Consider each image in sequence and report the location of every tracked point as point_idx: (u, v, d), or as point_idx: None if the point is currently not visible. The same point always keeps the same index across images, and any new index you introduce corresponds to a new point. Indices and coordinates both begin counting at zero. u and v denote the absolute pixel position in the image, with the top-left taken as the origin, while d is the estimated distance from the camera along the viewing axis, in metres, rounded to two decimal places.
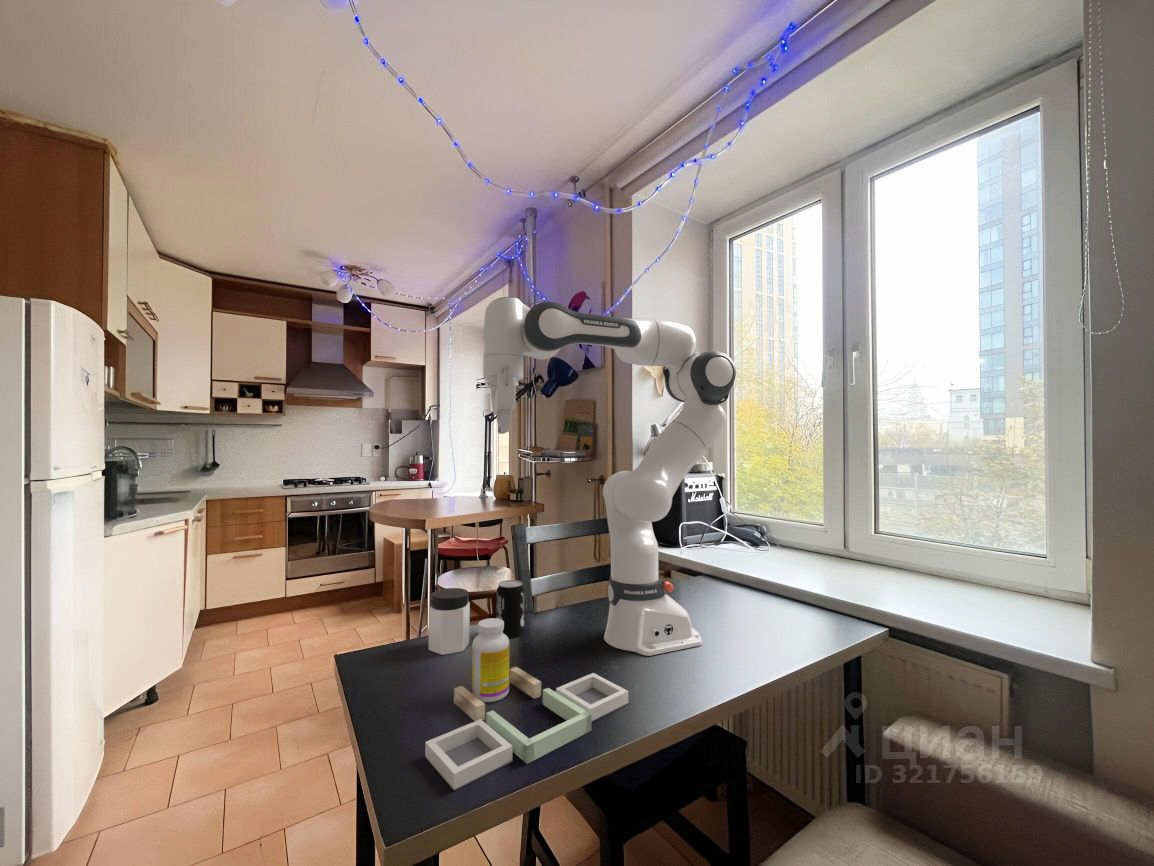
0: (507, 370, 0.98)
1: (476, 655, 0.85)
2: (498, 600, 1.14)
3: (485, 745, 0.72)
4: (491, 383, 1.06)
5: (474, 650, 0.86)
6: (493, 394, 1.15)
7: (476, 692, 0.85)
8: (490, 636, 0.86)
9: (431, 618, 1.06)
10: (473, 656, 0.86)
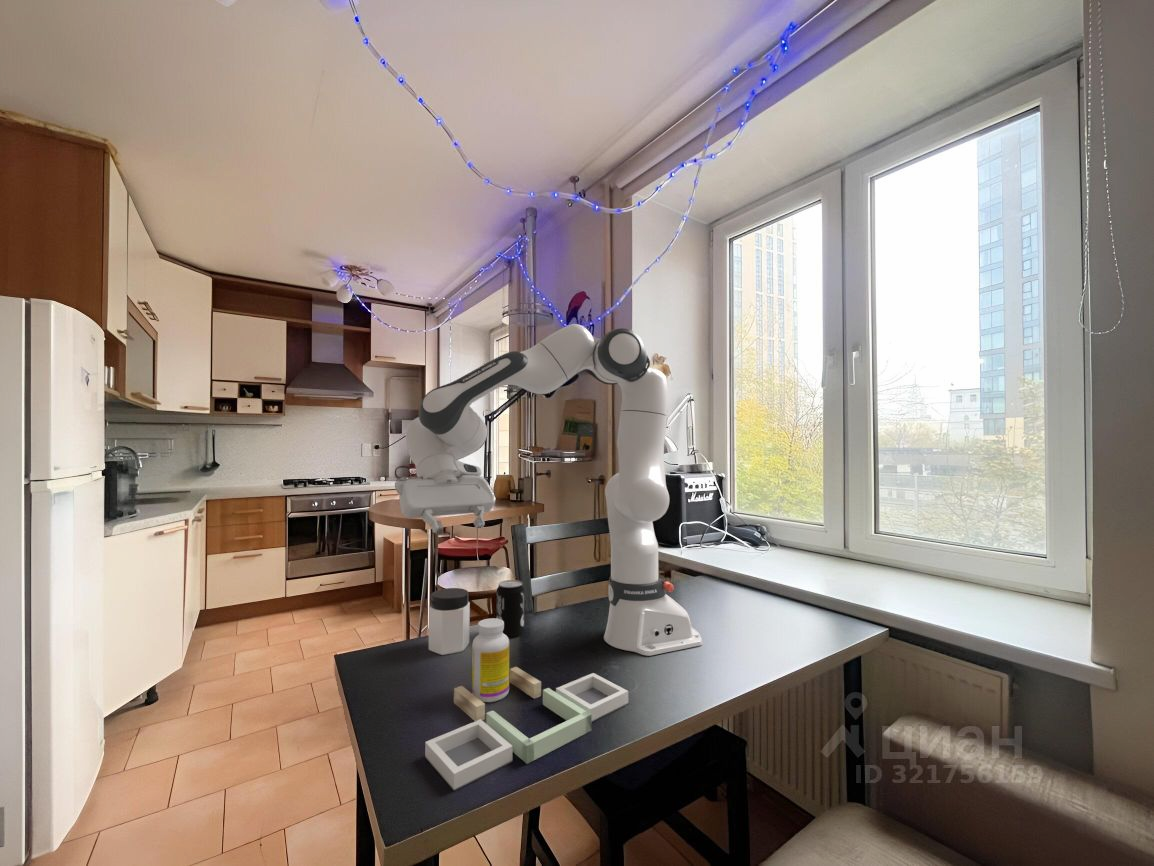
0: (395, 483, 0.98)
1: (476, 655, 0.85)
2: (498, 600, 1.14)
3: (485, 745, 0.72)
4: None
5: (474, 650, 0.86)
6: None
7: (476, 692, 0.85)
8: (490, 636, 0.86)
9: (431, 618, 1.06)
10: (473, 656, 0.86)
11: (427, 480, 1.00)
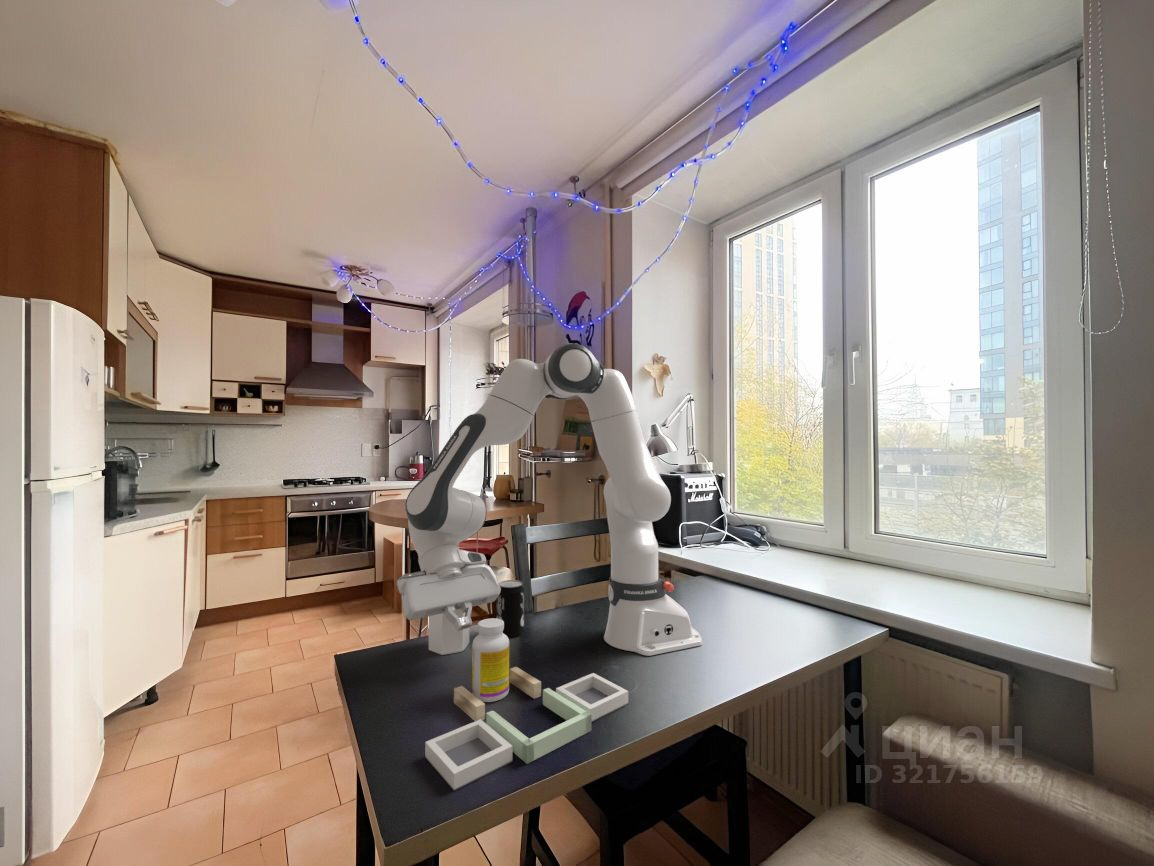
0: (397, 582, 0.95)
1: (476, 655, 0.85)
2: (498, 600, 1.14)
3: (485, 745, 0.72)
4: None
5: (474, 650, 0.86)
6: None
7: (476, 692, 0.85)
8: (490, 636, 0.86)
9: (431, 618, 1.06)
10: (473, 656, 0.86)
11: (430, 576, 0.98)
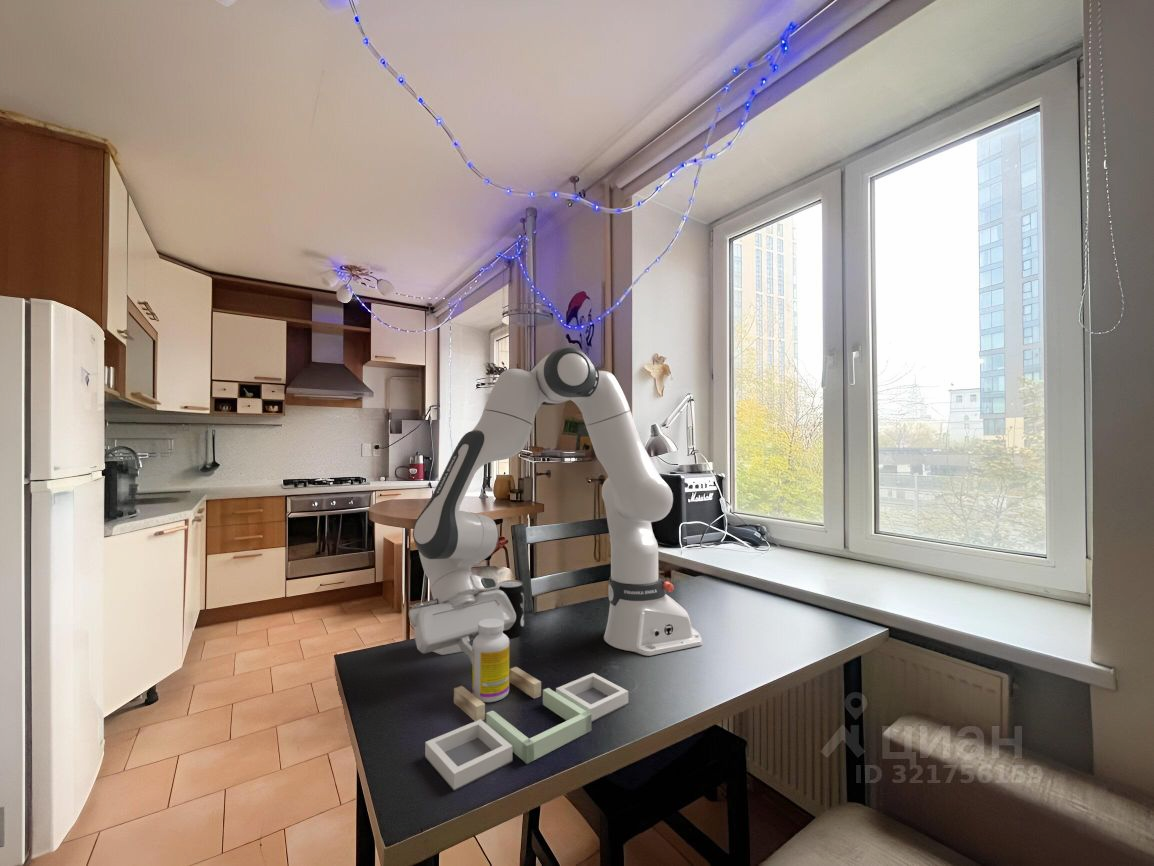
0: (409, 612, 0.91)
1: (476, 655, 0.85)
2: None
3: (485, 745, 0.72)
4: None
5: (474, 650, 0.86)
6: None
7: (476, 692, 0.85)
8: (490, 636, 0.86)
9: None
10: (473, 656, 0.86)
11: (443, 605, 0.93)
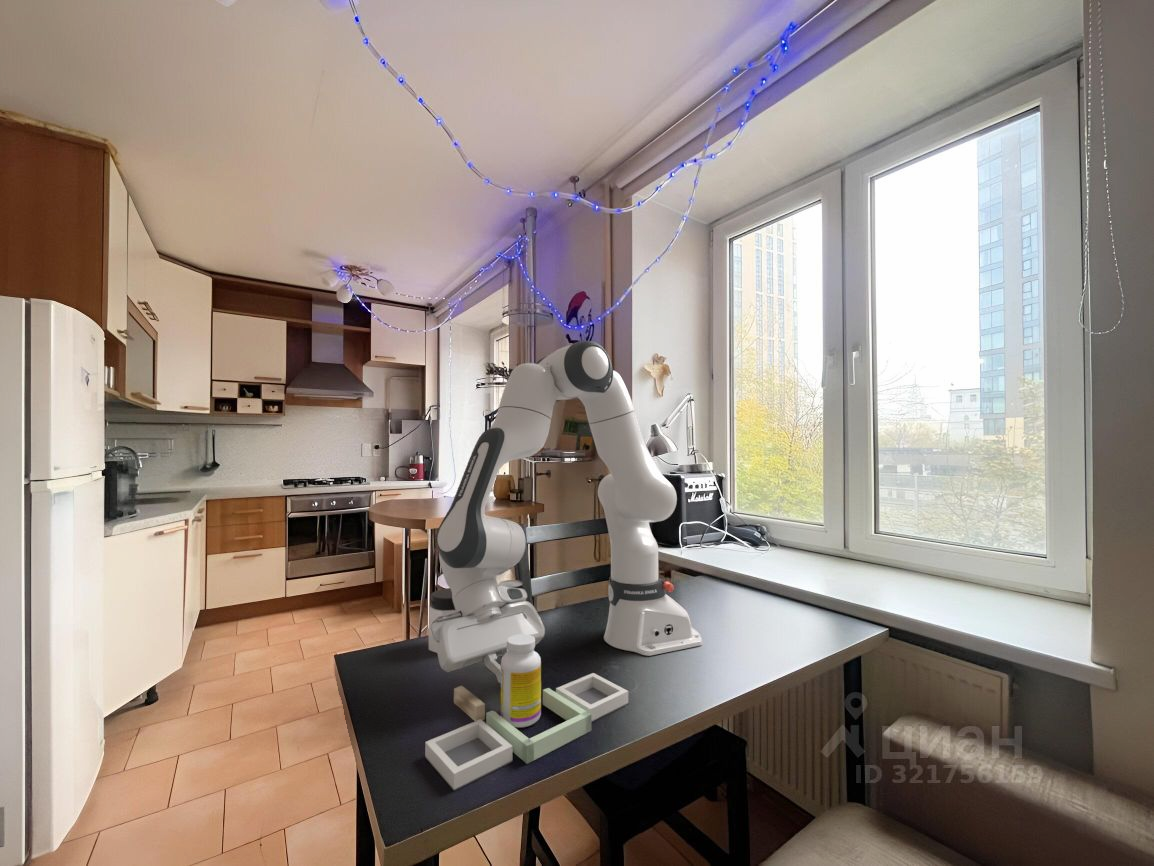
0: (431, 626, 0.83)
1: (506, 676, 0.78)
2: None
3: (485, 745, 0.72)
4: None
5: (503, 670, 0.78)
6: None
7: (506, 716, 0.77)
8: (521, 655, 0.78)
9: (431, 618, 1.06)
10: (502, 676, 0.78)
11: (467, 618, 0.86)
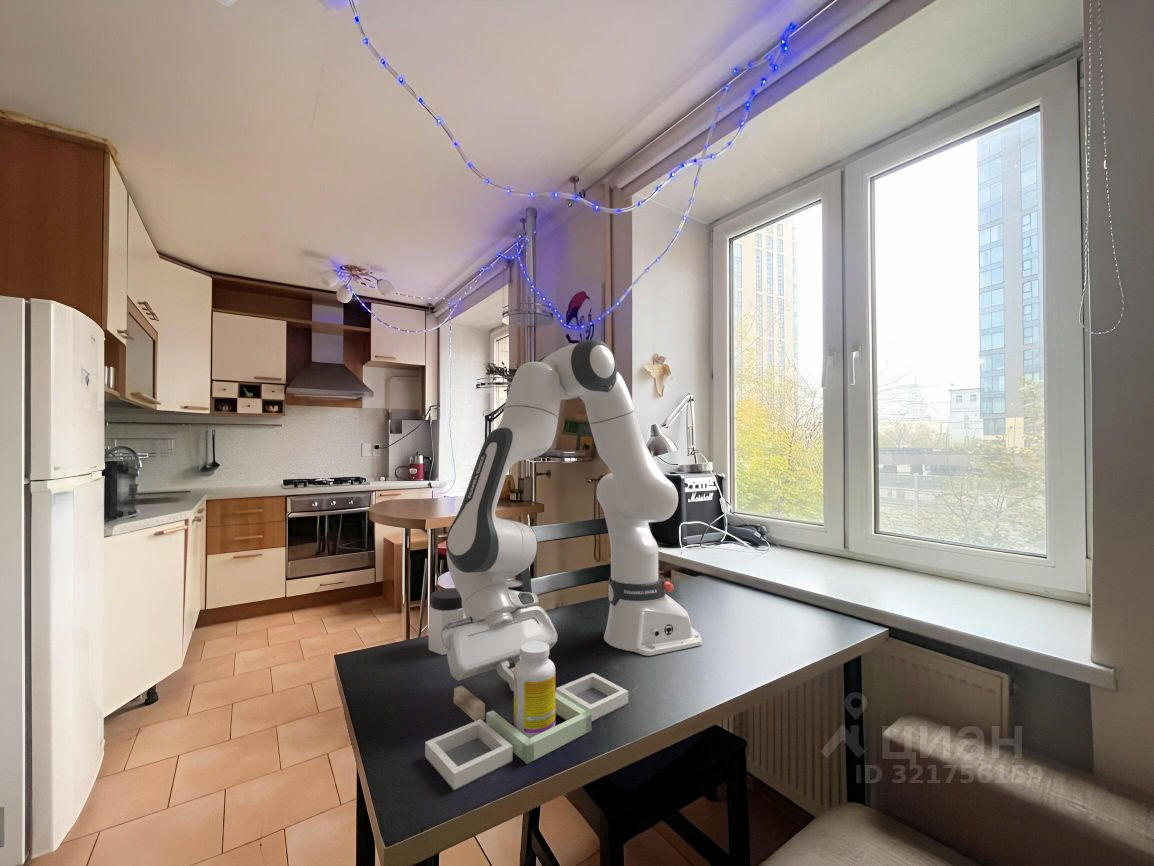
0: (441, 633, 0.80)
1: (519, 685, 0.75)
2: None
3: (485, 745, 0.72)
4: None
5: (516, 679, 0.75)
6: None
7: (519, 727, 0.74)
8: (534, 663, 0.75)
9: (431, 618, 1.06)
10: (515, 685, 0.76)
11: (478, 625, 0.83)
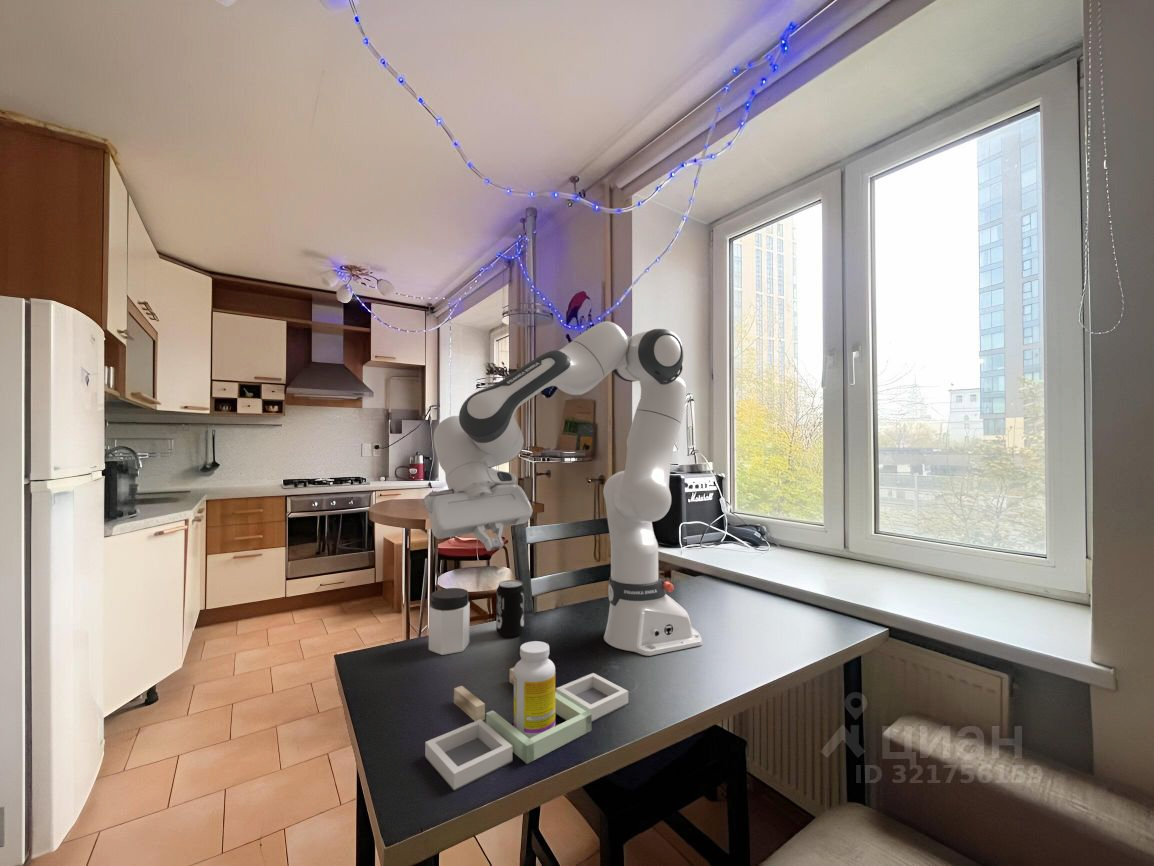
0: (424, 499, 0.89)
1: (519, 685, 0.75)
2: (498, 600, 1.14)
3: (485, 745, 0.72)
4: None
5: (516, 679, 0.75)
6: None
7: (519, 727, 0.74)
8: (534, 663, 0.75)
9: (431, 618, 1.06)
10: (515, 685, 0.76)
11: (458, 494, 0.92)
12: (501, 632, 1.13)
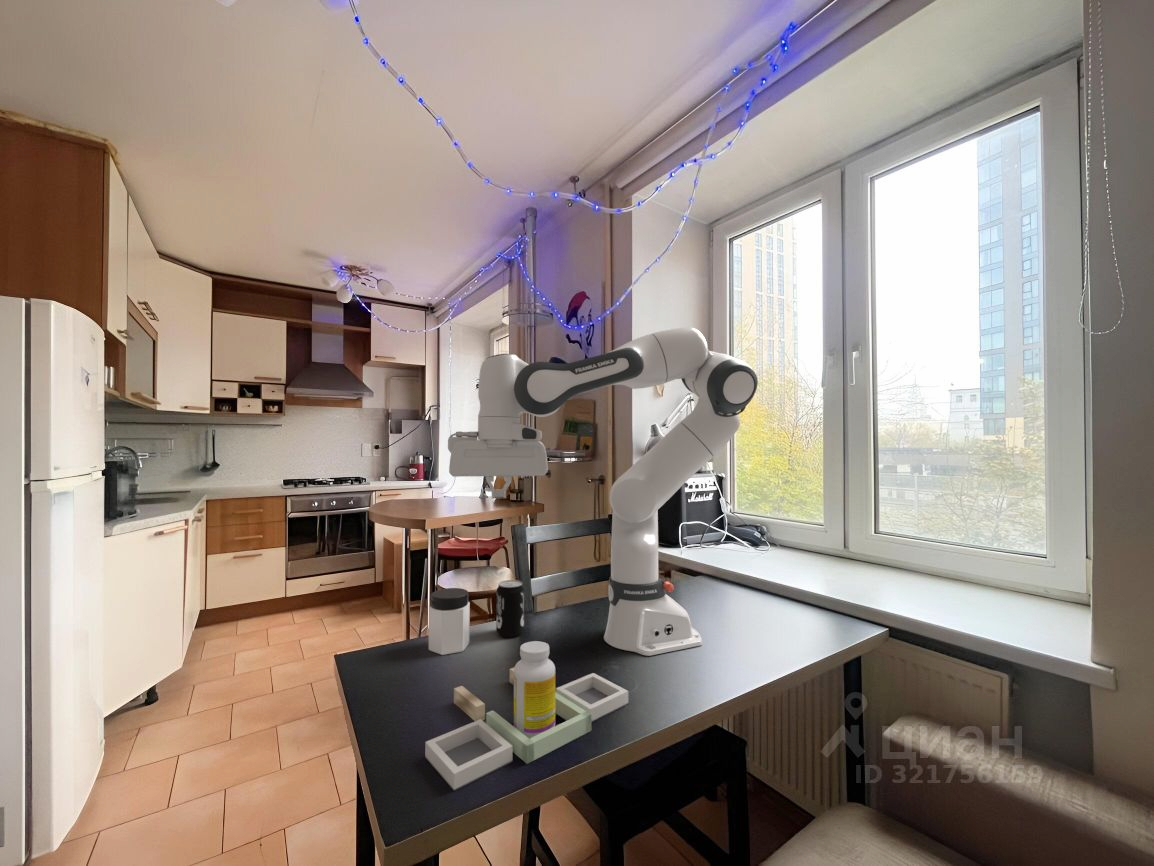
0: None
1: (519, 685, 0.75)
2: (498, 600, 1.14)
3: (485, 745, 0.72)
4: None
5: (516, 679, 0.75)
6: None
7: (519, 727, 0.74)
8: (534, 663, 0.75)
9: (431, 618, 1.06)
10: (515, 685, 0.76)
11: (478, 443, 0.98)
12: (501, 632, 1.13)
